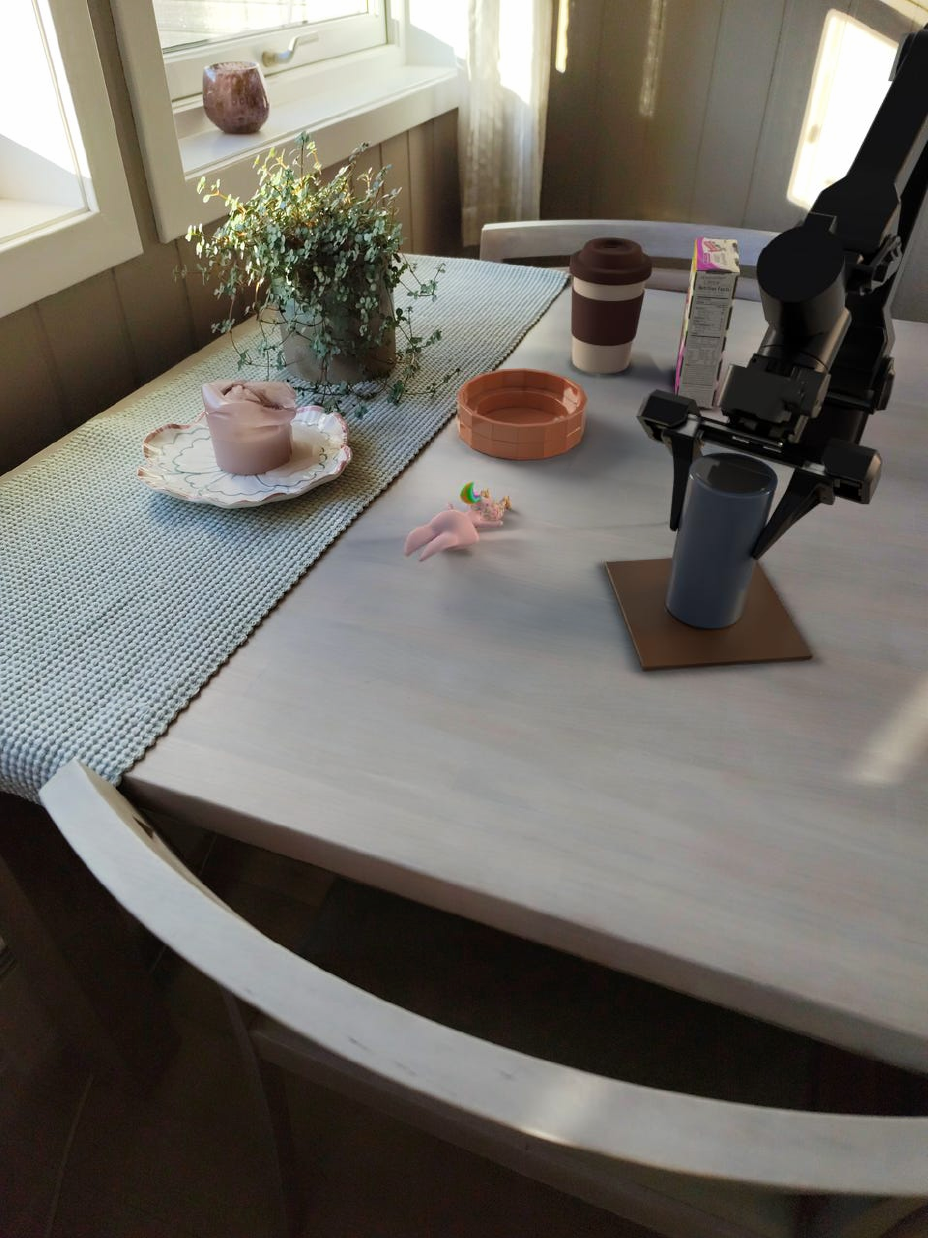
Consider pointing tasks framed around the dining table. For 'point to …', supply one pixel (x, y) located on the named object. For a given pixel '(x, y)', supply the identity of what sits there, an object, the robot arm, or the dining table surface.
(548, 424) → the bowl
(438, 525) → the rabbit figure
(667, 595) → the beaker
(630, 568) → the board
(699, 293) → the candy bar box
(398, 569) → the dining table surface
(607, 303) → the coffee cup
